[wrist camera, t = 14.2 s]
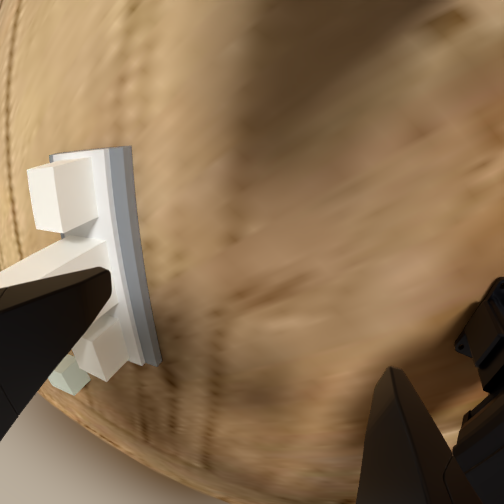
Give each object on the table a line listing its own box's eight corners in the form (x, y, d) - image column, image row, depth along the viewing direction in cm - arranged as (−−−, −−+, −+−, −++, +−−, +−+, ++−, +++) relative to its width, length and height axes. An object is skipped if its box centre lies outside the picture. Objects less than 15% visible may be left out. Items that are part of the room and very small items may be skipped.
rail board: (131, 145, 23) (77, 157, 18) (162, 361, 31) (131, 396, 26) (56, 153, 26) (10, 165, 21) (94, 335, 34) (63, 362, 29)
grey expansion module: (106, 240, 25) (-10, 309, 15) (118, 302, 27) (23, 380, 17) (70, 235, 27) (-34, 292, 16) (83, 291, 29) (-6, 356, 19)
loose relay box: (79, 357, 38) (61, 373, 35) (91, 379, 40) (74, 395, 36) (57, 350, 41) (40, 364, 37) (68, 370, 42) (52, 385, 39)
